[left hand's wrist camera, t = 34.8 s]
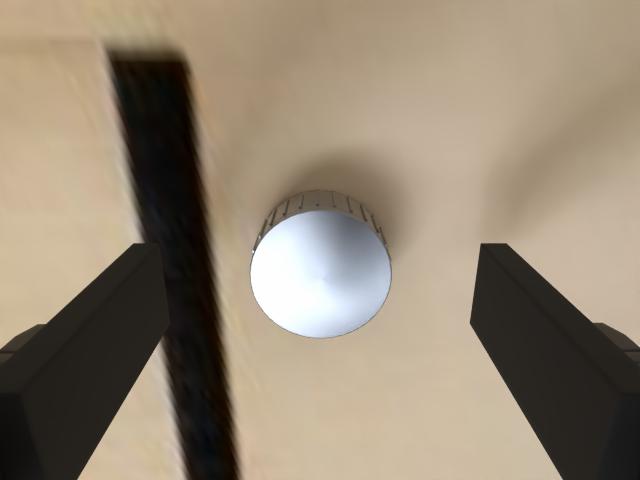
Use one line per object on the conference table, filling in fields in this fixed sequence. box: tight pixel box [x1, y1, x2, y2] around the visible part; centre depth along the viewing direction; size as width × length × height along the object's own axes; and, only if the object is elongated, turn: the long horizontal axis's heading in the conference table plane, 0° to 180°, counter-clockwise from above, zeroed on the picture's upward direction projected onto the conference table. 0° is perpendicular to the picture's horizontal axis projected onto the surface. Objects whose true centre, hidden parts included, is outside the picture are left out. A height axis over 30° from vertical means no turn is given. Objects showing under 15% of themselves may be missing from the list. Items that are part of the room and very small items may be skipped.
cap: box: [250, 190, 392, 338], centre depth 15 cm, size 4×4×2 cm
